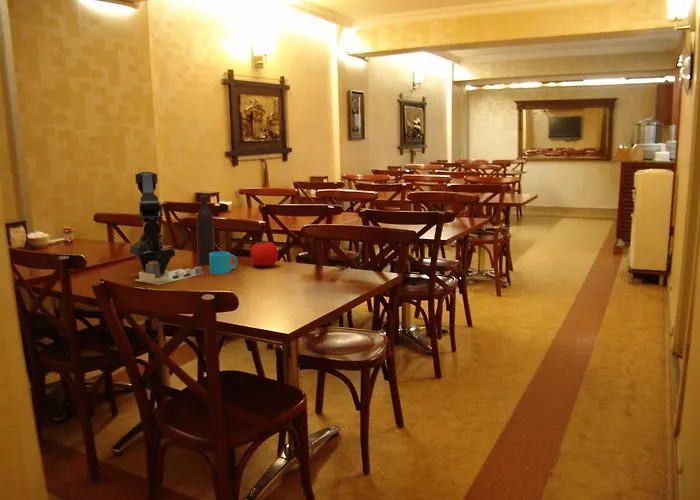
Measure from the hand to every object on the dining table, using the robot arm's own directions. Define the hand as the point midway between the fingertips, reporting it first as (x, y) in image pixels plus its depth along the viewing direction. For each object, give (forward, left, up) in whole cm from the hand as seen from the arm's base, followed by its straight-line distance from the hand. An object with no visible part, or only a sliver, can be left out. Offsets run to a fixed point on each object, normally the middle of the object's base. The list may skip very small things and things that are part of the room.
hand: (153, 273), depth 227 cm
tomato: (+19, +43, -3) cm, 47 cm away
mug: (+13, +25, -3) cm, 28 cm away
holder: (0, 0, -2) cm, 2 cm away
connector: (0, 0, -2) cm, 2 cm away
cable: (+6, +9, -2) cm, 12 cm away
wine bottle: (-4, +32, -3) cm, 32 cm away
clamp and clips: (+7, +12, -2) cm, 13 cm away
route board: (+2, +6, -3) cm, 7 cm away
